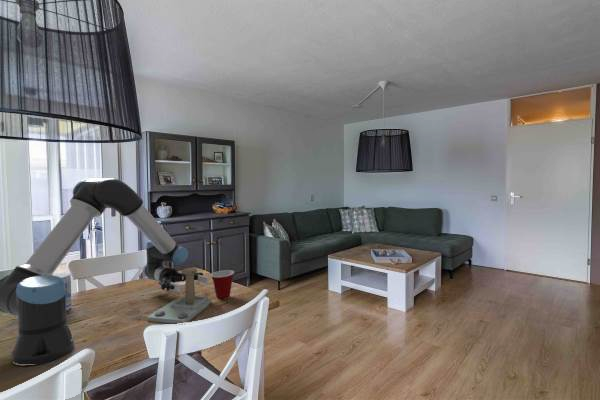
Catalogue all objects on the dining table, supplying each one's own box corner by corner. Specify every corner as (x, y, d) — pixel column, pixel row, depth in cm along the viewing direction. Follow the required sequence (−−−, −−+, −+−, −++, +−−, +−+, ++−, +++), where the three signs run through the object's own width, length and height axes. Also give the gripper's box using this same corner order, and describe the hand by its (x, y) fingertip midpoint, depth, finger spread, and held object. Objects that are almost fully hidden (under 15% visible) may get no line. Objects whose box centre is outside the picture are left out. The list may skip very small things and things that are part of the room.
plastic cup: (217, 292, 154) (217, 268, 153) (238, 294, 152) (237, 270, 151) (206, 301, 143) (205, 275, 143) (228, 303, 141) (228, 276, 140)
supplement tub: (61, 315, 127) (59, 279, 126) (36, 315, 127) (35, 279, 126) (77, 305, 137) (75, 272, 136) (54, 305, 137) (53, 272, 136)
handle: (199, 302, 138) (199, 268, 137) (186, 307, 132) (186, 272, 131) (193, 299, 140) (192, 266, 139) (180, 304, 135) (179, 269, 134)
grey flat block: (184, 324, 119) (184, 317, 119) (146, 320, 123) (146, 313, 122) (211, 302, 141) (211, 296, 141) (179, 300, 144) (179, 294, 144)
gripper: (190, 276, 157) (217, 285, 144) (140, 290, 137) (167, 301, 124) (189, 262, 156) (217, 269, 144) (139, 273, 136) (166, 283, 124)
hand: (194, 284), depth 134 cm, fingers open, 13 cm apart
